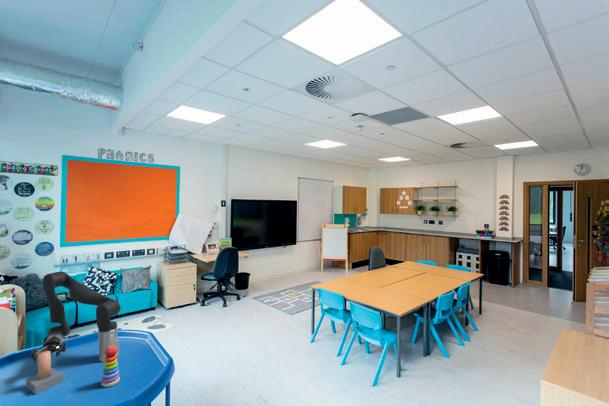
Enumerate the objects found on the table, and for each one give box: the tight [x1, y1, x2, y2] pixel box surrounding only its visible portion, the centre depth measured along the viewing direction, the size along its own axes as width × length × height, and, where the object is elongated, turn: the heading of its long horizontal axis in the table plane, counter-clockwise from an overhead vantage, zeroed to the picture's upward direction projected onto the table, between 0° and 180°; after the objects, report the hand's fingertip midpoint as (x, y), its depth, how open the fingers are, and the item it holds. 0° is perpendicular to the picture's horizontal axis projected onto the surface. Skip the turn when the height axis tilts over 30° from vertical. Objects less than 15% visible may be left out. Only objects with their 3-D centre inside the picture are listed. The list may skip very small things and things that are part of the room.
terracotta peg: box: [37, 351, 52, 380], centre depth 151 cm, size 5×5×12 cm
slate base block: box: [25, 367, 64, 395], centre depth 152 cm, size 11×11×4 cm
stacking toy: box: [100, 346, 121, 388], centre depth 153 cm, size 8×8×19 cm
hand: (46, 357), depth 155 cm, fingers open, 8 cm apart
